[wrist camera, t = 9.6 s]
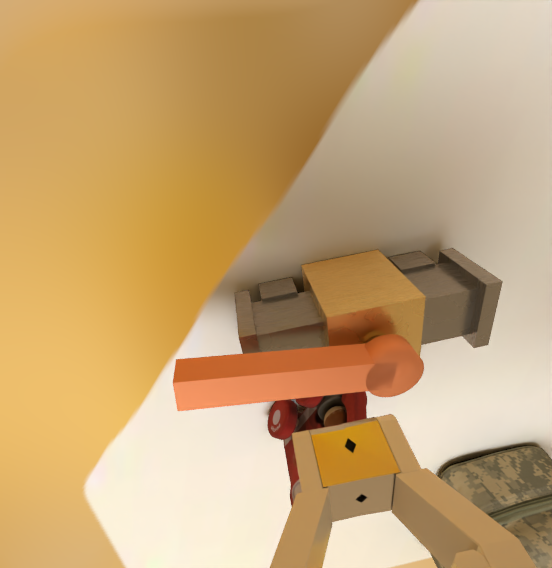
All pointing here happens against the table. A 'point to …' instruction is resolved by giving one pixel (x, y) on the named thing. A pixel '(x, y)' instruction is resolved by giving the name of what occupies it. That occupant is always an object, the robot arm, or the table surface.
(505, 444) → the table surface
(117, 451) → the table surface
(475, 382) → the table surface
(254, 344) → the pipe valve
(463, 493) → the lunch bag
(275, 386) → the lever
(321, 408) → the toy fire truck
